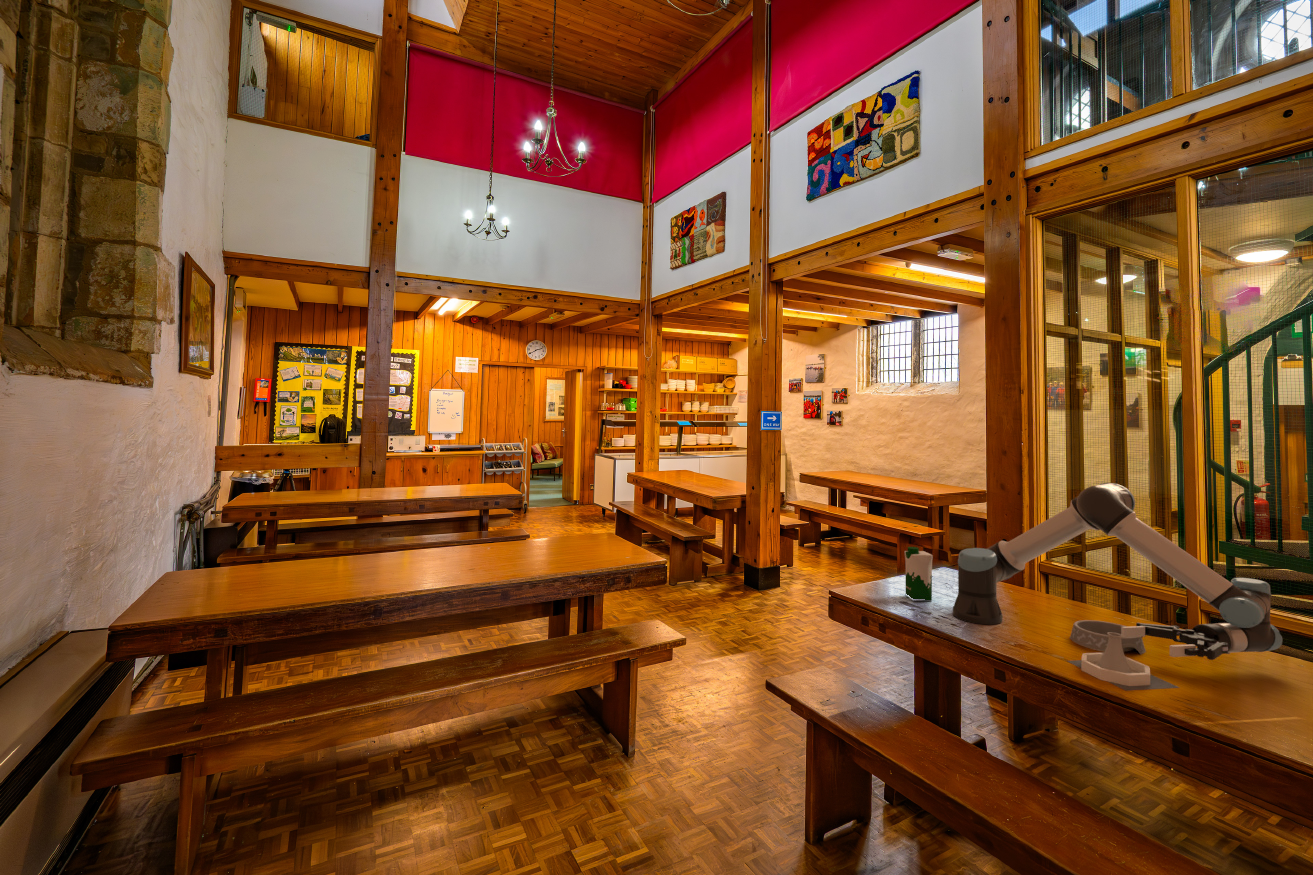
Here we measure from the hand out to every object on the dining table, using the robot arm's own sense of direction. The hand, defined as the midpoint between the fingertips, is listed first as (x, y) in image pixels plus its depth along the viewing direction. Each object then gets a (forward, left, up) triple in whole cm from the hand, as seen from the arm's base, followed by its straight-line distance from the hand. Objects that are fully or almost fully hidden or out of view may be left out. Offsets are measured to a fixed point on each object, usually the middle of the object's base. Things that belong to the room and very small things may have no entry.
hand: (1145, 641), depth 150 cm
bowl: (0, -9, -8) cm, 12 cm away
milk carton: (-70, -23, -9) cm, 74 cm away
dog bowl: (-20, +8, -9) cm, 24 cm away
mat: (0, -7, -9) cm, 11 cm away
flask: (0, -9, -8) cm, 12 cm away
